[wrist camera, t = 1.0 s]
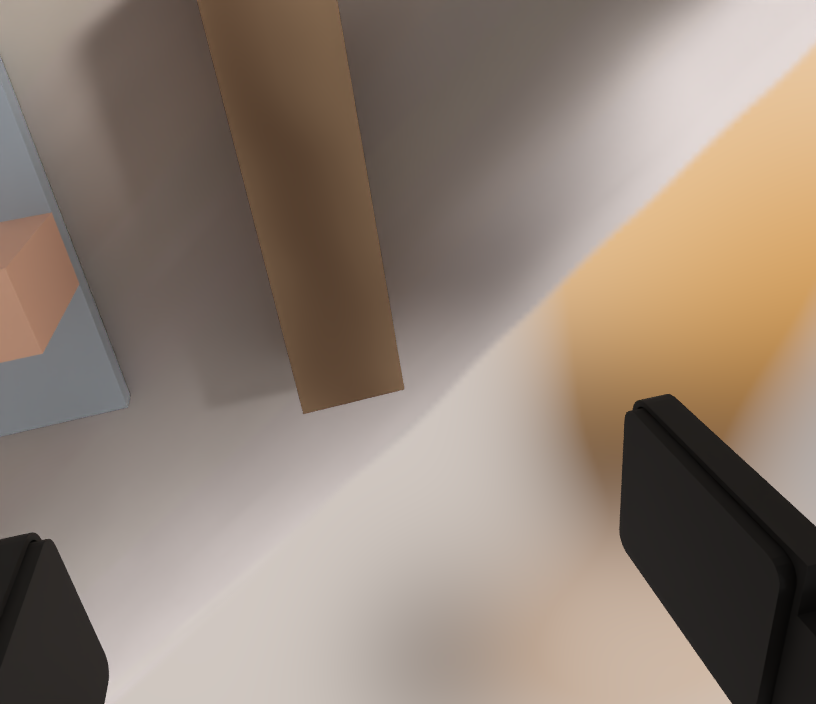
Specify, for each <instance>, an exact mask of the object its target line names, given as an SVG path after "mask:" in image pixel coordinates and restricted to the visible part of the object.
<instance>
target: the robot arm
mask: <svg viewBox="0 0 816 704" xmlns="http://www.w3.org/2000/svg"><path fill="white" fill-rule="evenodd" d="M619 530H620V538H621V541H622V545H623V547H624V549H625V551H626V553H627V554H628V555H629V557H630V558H631V560H632V561H633V563H634V564H635V566H636V567H637V568H638V570H639V571H640V573H641V574H642V575H643V577H644V578H645V580H646V581H647V583H648V584H649V585H650V587H651V588H652V590H653V591H654V593H655V594H656V596H657V597H658V598H659V600H660V601H661V603H662V604H663V606H664V607H665V608H666V610H667V611H668V613H669V614H670V615H671V617H672V618H673V620H674V621H675V623H676V624H677V626H678V627H679V628H680V630H681V631H682V633H683V634H684V636H685V637H686V639H687V640H688V641H689V643H690V644H691V646H692V647H693V649H694V650H695V651H696V653H697V654H698V656H699V657H700V658H701V660H702V661H703V663H704V664H705V666H706V667H707V669H708V670H709V671H710V673H711V674H712V676H713V677H714V678H715V680H716V681H717V683H718V684H719V686H720V687H721V689H722V690H723V691H724V693H725V694H726V695H727V697H728V699H729V700H730V701H731V703H732V704H816V526H815V525H814V524H812V523H811V522H810V521H809V520H808V519H807V518H806V517H805V516H804V515H803V514H802V513H800V512H799V511H798V510H797V509H796V508H795V507H794V506H793V505H792V504H791V503H790V502H789V501H787V500H786V499H785V498H784V497H783V496H782V495H781V494H780V493H779V492H778V491H777V490H776V489H774V488H773V487H772V486H771V485H770V484H769V483H768V482H767V481H766V480H765V479H764V478H762V477H761V476H760V475H759V474H758V473H757V472H756V471H755V470H754V469H753V468H752V467H750V466H749V465H748V464H747V463H746V462H745V461H744V460H743V459H742V458H741V457H739V456H738V455H737V454H736V453H735V452H734V451H733V450H732V449H731V448H730V447H729V446H728V445H726V444H725V443H724V442H723V441H722V440H721V439H720V438H719V437H718V436H717V435H715V434H714V433H713V432H712V431H711V430H710V429H709V428H708V427H707V426H705V424H704V423H702V422H701V421H700V420H699V419H698V418H697V417H696V416H695V415H694V414H693V413H692V412H691V411H689V410H688V409H687V408H686V407H685V406H684V405H683V404H682V403H681V402H680V401H679V400H677V399H676V398H675V397H674V396H672V395H670V394H665V395H661V396H656V397H652V398H647V399H642V400H638V401H636V402H635V404H634V406H633V410H632V411H628V412H627V413H626V415H625V422H624V443H623V465H622V485H621V508H620V529H619ZM108 680H109V668H108V662H107V658H106V655H105V653H104V651H103V648H102V646H101V644H100V642H99V640H98V638H97V635H96V633H95V631H94V629H93V627H92V624H91V622H90V620H89V618H88V616H87V613H86V611H85V609H84V607H83V605H82V603H81V600H80V598H79V596H78V594H77V592H76V589H75V587H74V585H73V583H72V581H71V578H70V576H69V574H68V572H67V570H66V567H65V565H64V563H63V561H62V559H61V557H60V554H59V552H58V550H57V548H56V546H55V544H54V542H53V541H52V540H51V539H45V540H41V538H40V537H39V536H38V535H37V534H36V533H28V534H23V535H18V536H14V537H9V538H5V539H0V704H104V703H105V697H106V692H107V687H108Z"/></svg>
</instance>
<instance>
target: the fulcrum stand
mask: <svg viewBox="0 0 816 704" xmlns="http://www.w3.org/2000/svg"><path fill="white" fill-rule="evenodd" d="M129 400H130V393H129V390H128V388H127V385H126V383H125V380H124V377H123V375H122V372H121V369H120V367H119V364H118V362H117V359H116V356H115V354H114V351H113V349H112V346H111V343H110V341H109V338H108V336H107V333H106V330H105V328H104V325H103V322H102V320H101V317H100V315H99V312H98V309H97V307H96V304H95V302H94V299H93V296H92V294H91V291H90V289H89V286H88V283H87V281H86V278H85V275H84V273H83V270H82V268H81V265H80V262H79V260H78V257H77V255H76V252H75V249H74V247H73V244H72V241H71V239H70V236H69V234H68V231H67V228H66V226H65V223H64V221H63V218H62V215H61V213H60V210H59V208H58V205H57V202H56V200H55V197H54V194H53V192H52V189H51V187H50V184H49V181H48V179H47V176H46V174H45V171H44V168H43V166H42V163H41V161H40V158H39V155H38V153H37V150H36V147H35V145H34V142H33V140H32V137H31V134H30V132H29V129H28V127H27V124H26V121H25V119H24V116H23V114H22V111H21V108H20V106H19V103H18V100H17V98H16V95H15V93H14V90H13V87H12V85H11V82H10V80H9V77H8V74H7V72H6V69H5V66H4V64H3V61H2V59H1V56H0V437H2V436H6V435H11V434H15V433H19V432H24V431H28V430H32V429H37V428H41V427H45V426H50V425H54V424H58V423H63V422H67V421H71V420H76V419H80V418H85V417H89V416H93V415H98V414H102V413H106V412H111V411H115V410H119V409H124V408H128V404H129Z"/></svg>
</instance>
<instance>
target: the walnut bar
mask: <svg viewBox="0 0 816 704" xmlns="http://www.w3.org/2000/svg"><path fill="white" fill-rule="evenodd" d="M197 3H198V7H199V11H200V14H201V18H202V22H203V26H204V30H205V34H206V38H207V42H208V46H209V49H210V53H211V57H212V61H213V65H214V69H215V73H216V77H217V80H218V84H219V88H220V92H221V96H222V100H223V104H224V108H225V112H226V115H227V119H228V123H229V127H230V131H231V135H232V139H233V143H234V146H235V150H236V154H237V158H238V162H239V166H240V170H241V174H242V178H243V181H244V185H245V189H246V193H247V197H248V201H249V205H250V209H251V212H252V216H253V220H254V224H255V228H256V232H257V236H258V240H259V244H260V247H261V251H262V255H263V259H264V263H265V267H266V271H267V275H268V279H269V282H270V286H271V290H272V294H273V298H274V302H275V306H276V310H277V313H278V317H279V321H280V325H281V329H282V333H283V337H284V341H285V345H286V348H287V352H288V356H289V360H290V364H291V368H292V372H293V376H294V379H295V383H296V387H297V391H298V395H299V399H300V403H301V407H302V411H303V414H306V413H310V412H314V411H318V410H322V409H326V408H330V407H334V406H338V405H342V404H347V403H351V402H355V401H359V400H363V399H367V398H371V397H375V396H379V395H383V394H387V393H391V392H396V391H400V390H404V384H403V378H402V372H401V367H400V361H399V355H398V349H397V343H396V338H395V332H394V326H393V320H392V314H391V309H390V303H389V297H388V291H387V286H386V280H385V274H384V268H383V262H382V257H381V251H380V245H379V239H378V233H377V228H376V222H375V216H374V210H373V204H372V199H371V193H370V187H369V181H368V175H367V170H366V164H365V158H364V152H363V146H362V141H361V135H360V129H359V123H358V117H357V112H356V106H355V100H354V94H353V89H352V83H351V77H350V71H349V65H348V60H347V54H346V48H345V42H344V36H343V31H342V25H341V19H340V13H339V7H338V2H337V0H197Z"/></svg>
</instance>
